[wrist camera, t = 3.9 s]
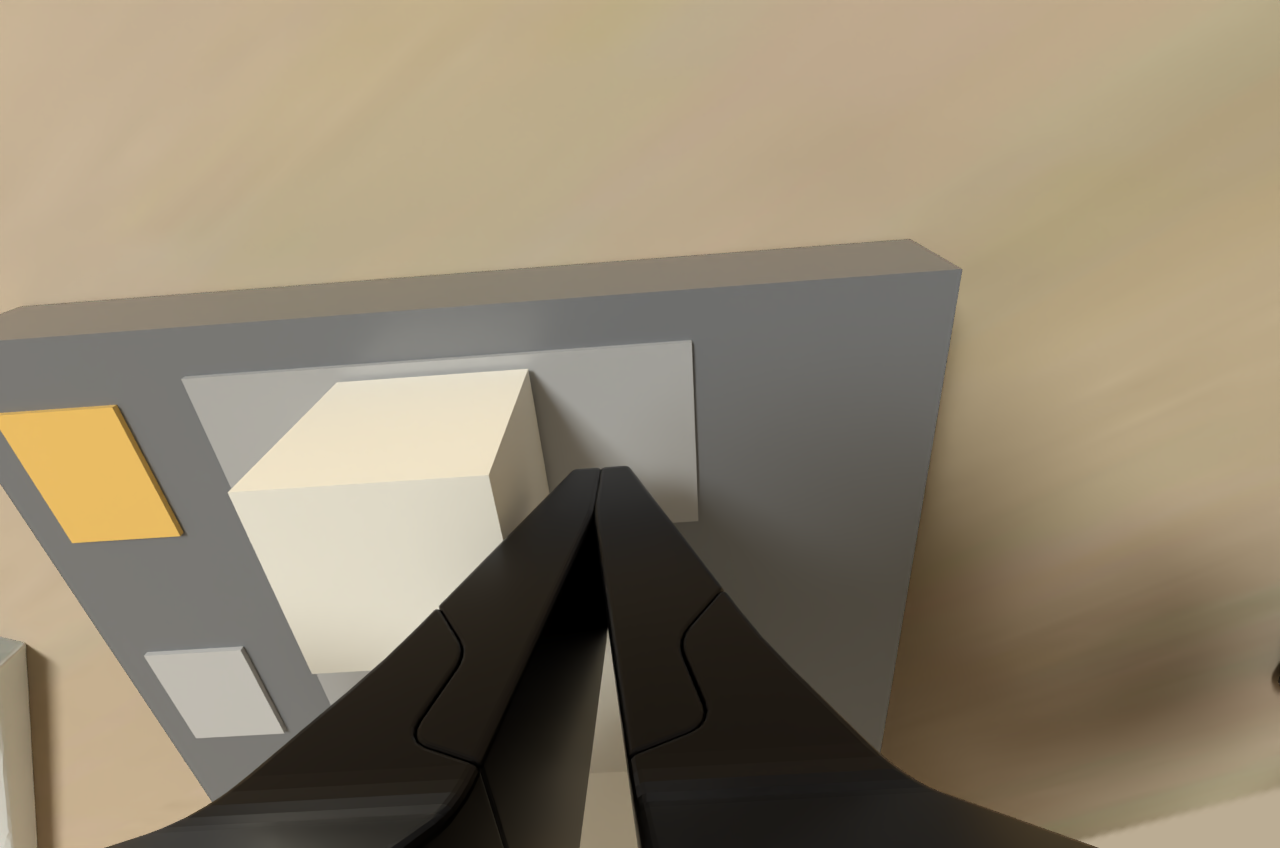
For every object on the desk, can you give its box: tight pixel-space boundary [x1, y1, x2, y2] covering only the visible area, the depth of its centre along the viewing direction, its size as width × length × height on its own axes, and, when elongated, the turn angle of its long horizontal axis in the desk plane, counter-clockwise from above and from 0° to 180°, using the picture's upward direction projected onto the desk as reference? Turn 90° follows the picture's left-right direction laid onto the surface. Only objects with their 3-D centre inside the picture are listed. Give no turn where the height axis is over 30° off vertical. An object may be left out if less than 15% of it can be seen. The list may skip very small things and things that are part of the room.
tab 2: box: [580, 633, 638, 848], centre depth 12 cm, size 3×3×3 cm
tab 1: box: [228, 369, 549, 674], centre depth 9 cm, size 3×3×3 cm
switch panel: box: [0, 239, 962, 802], centre depth 14 cm, size 16×16×2 cm
